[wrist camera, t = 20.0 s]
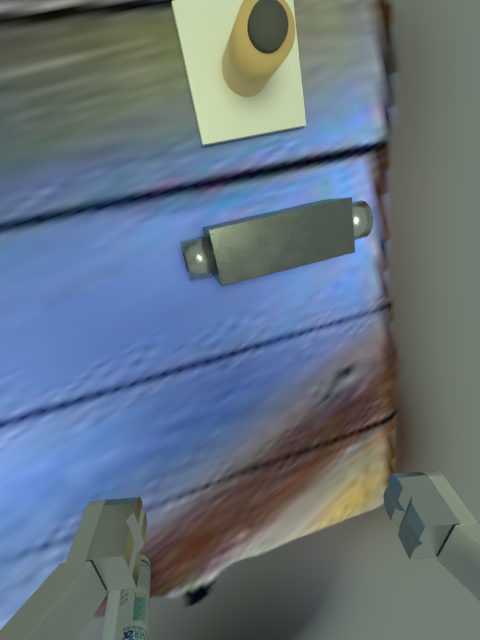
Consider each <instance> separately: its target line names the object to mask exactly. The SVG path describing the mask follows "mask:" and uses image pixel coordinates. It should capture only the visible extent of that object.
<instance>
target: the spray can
mask: <svg viewBox="0 0 480 640" xmlns="http://www.w3.org/2000/svg"><path fill="white" fill-rule="evenodd" d="M139 555H140V558H141V566H140V571H139V577H138V582H137V588H130V589H122V590H115V591H109V593H108V599H107V605H106V611H105V618H104V624H103V630H102V636H101V640H148V628H149V604H150V603H149V602H150V579H151V563H150V560H149V559H148V557H146V556H144V555H141V554H139Z"/></svg>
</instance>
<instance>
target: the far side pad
mask: <svg viewBox="0 0 480 640" xmlns="http://www.w3.org/2000/svg"><path fill="white" fill-rule="evenodd" d="M243 1H244V0H175V1H172V12H173V16H174V21H175V25H176V30H177V35H178V39H179V44H180V48H181V53H182V58H183V62H184V67H185V71H186V76H187V80H188V85H189V90H190V94H191V99H192V103H193V108H194V113H195V117H196V122H197V126H198V131H199V135H200V140H201V145H202V147H203V146H208V145H213V144H218V143H224V142H229V141H234V140H239V139H245V138H250V137H255V136H260V135H266V134H271V133H276V132H281V131H287V130H292V129H297V128H302V127H304V126H306V119H305V110H304V100H303V91H302V81H301V71H300V62H299V52H298V43H297V33H296V24H295V39H294V44H293V47H292V49H291V51H290V53H289V55H288V56H287V58H286V59H285V60H284V61H283V63H282V64H281V65H280V67H279V68H278V69H277V71H276V72H275V73H274V75H273V76H272V77H271V78H270V80H269V81H268V82H267V84H266V85H265V86H264V88H263V89H262V90H261V91H260V92H259V93H258V94H256V95H254V96H251V97H243V96H240V95H237V94H236V93H234V92H233V91H232V90H231V89H230V88H229V87H228V85H227V84H226V82H225V80H224V77H223V73H222V57H223V54H224V51H225V48H226V45H227V42H228V40H229V37H230V34H231V31H232V28H233V25H234V22H235V20H236V17H237V14H238V11H239V8H240V6H241V4H242V2H243ZM285 1H286V2H287V4H288V5H289V7H290V9H291V11H292V14H293V17H294V22H295V14H294V4H293V0H285Z"/></svg>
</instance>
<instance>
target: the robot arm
mask: <svg viewBox="0 0 480 640" xmlns="http://www.w3.org/2000/svg"><path fill="white" fill-rule="evenodd" d="M388 482H389V484H390V486H389V487H388V488H386V489H385V492H384V505H385V508H386V511H387V513H388V515H389V518H390V520H391V521H392V522H393V523H394V524H396V525H397V526H398V527H399V533H398V536H399V538H400V540H401V542H402V544H403V547H404V548H405V550H406V553H407V555H408V557H409V559H424V558H437V560H438V561H439V562H440V563H441V564H442V565H443V566H444V567H445V568H446V569H447V570H448V571H449V572H450V573H451V574H452V575H453V576H454V577H456V578H457V579H458V580H459V582H461V583H462V584H463V585H464V586H465V587H466V588H467V589H468V590H469V591H470V592H471V593H472V594H473V595H474V596H475V597H476V598H477V599H478V600H479V601H480V523H477V522H476V521H475V519H474V518H473V517H472V515H471V514H470V512H469V511H468V510H467V508H466V507H465V505H464V504H463V503H462V501H461V500H460V499H459V497H458V496H457V494H456V493H455V492H454V490H453V489H452V488H451V486H450V485H449V483H448V482H447V481H446V479H445V478H444V476H443V475H442V474H441V473H440V472H438V471H435V470H434V471H423V472H411V473H402V474H392V475H391V476H389V479H388ZM141 508H142V500H141V498H140V497H132V498H121V499H110V500H109V499H106V500H96V501H90V502H89V504H88V505H87V507H86V508H85V511H84V514H83V517H82V519H81V522H80V525H79V527H78V530H77V533H76V536H75V538H74V541H73V544H72V546H71V549H70V552H69V555H68V557H67V560H66V563H61V564H59V566H58V567H57V568H56V569H55V570H54V571H53V572H52V573H51V574H50V576H49V577H48V578H47V579H46V580H45V581H44V582H43V583H42V584H41V586H40V587H39V588H38V589H37V590H36V591H35V592H34V593H33V595H32V596H31V597H30V598H29V599H28V600H27V601H26V602H25V603H24V605H23V606H22V607H21V608H20V609H19V610H18V611H17V612H16V614H15V615H14V616H13V617H12V618H11V619H10V620H9V621H8V622H7V624H6V625H5V626H4V627H3V628H2V629H1V630H0V640H78V638H79V637H80V635H81V634H82V632H83V630H84V629H85V627H86V626H87V624H88V623H89V621H90V620H91V618H92V617H93V615H94V613H95V612H96V610H97V609H98V607H99V606H100V604H101V603H102V601H103V600H104V598H105V596H106V595H107V591H115V590H122V589H130V588H137V582H138V577H139V571H140V566H141V558H140V555H139V551H140V549H141V548H142V547H143V545H144V544H145V538H146V529H147V518H146V513H145V511H144V510H142V509H141Z"/></svg>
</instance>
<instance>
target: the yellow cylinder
mask: <svg viewBox="0 0 480 640" xmlns="http://www.w3.org/2000/svg"><path fill="white" fill-rule="evenodd" d="M294 39H295V22H294V17H293V14H292V11H291V9H290V7H289V5H288V4H287V2H286V1H285V0H244V1H243V2H242V4H241V6H240V8H239V11H238V14H237V17H236V20H235V22H234V25H233V28H232V31H231V34H230V37H229V40H228V42H227V45H226V48H225V51H224V54H223V57H222V73H223V77H224V80H225V82H226V84H227V85H228V87H229V88H230V89H231V90H232V91H233V92H234V93H236V94H237V95H240V96H243V97H251V96H254V95H256V94H258V93H259V92H260V91H261V90H262V89H263V88H264V86H265V85H266V84H267V82H268V81H269V80H270V78H271V77H272V76H273V75H274V73H275V72H276V71H277V69H278V68H279V67H280V65H281V64H282V63H283V61H284V60H285V59H286V58H287V56H288V55H289V53H290V51H291V49H292V47H293V44H294Z"/></svg>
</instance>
